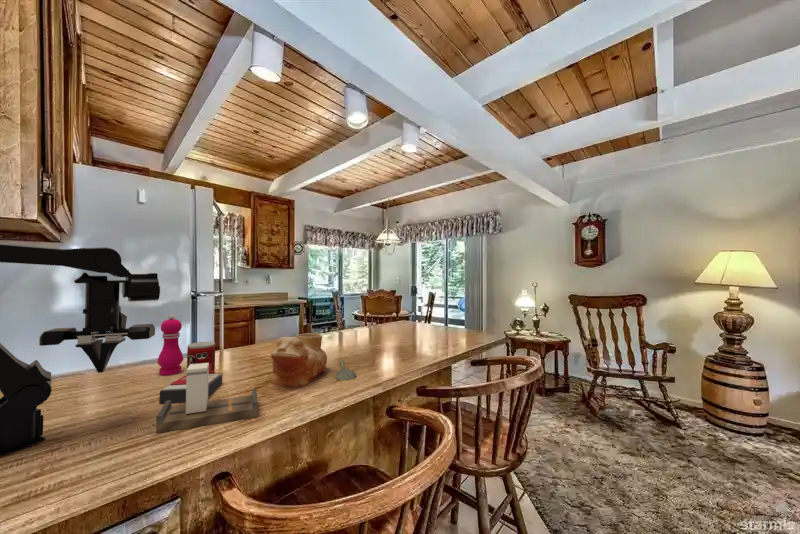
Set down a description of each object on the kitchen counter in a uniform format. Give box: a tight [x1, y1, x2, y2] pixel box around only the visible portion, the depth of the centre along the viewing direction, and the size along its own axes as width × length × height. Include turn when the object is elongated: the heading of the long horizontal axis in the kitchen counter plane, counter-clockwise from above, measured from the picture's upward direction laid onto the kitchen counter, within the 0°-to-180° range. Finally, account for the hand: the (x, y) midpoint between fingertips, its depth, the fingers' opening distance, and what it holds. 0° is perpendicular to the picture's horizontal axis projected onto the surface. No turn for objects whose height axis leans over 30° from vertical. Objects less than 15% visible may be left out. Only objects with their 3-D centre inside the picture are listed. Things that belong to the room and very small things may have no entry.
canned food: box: [186, 341, 216, 374], centre depth 109 cm, size 8×8×11 cm
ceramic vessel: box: [270, 332, 328, 388], centre depth 110 cm, size 14×26×15 cm, turn 170°
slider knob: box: [185, 363, 209, 414], centre depth 79 cm, size 4×5×10 cm
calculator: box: [158, 373, 223, 405], centre depth 95 cm, size 11×4×15 cm
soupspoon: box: [335, 359, 356, 381], centre depth 118 cm, size 22×3×7 cm
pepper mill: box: [157, 314, 184, 376], centre depth 114 cm, size 7×7×20 cm
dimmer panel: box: [155, 388, 259, 434], centre depth 80 cm, size 20×10×4 cm, turn 115°
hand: (101, 372), depth 75 cm, fingers closed
